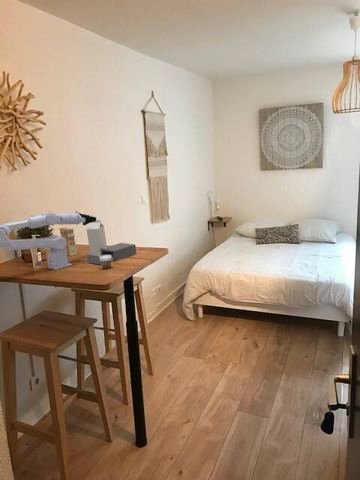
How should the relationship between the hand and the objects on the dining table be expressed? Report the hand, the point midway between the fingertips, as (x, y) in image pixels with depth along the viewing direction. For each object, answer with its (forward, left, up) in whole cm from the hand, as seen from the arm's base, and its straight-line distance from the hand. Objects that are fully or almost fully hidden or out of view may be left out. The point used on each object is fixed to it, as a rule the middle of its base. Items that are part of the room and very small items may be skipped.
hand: (92, 218), depth 201 cm
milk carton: (+4, +5, -21) cm, 22 cm away
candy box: (-3, +23, -21) cm, 31 cm away
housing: (+6, -10, -21) cm, 24 cm away
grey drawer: (-3, -10, -21) cm, 23 cm away
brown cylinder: (-11, -22, -21) cm, 33 cm away
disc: (-11, -22, -17) cm, 30 cm away
